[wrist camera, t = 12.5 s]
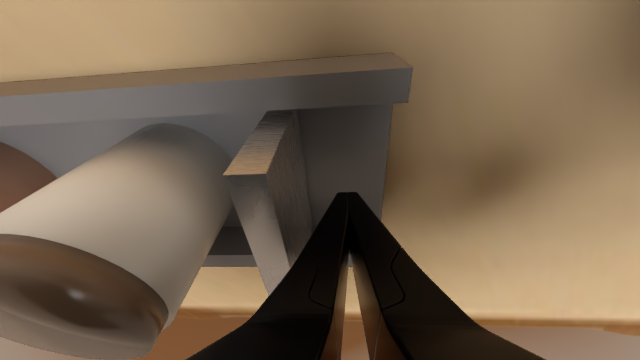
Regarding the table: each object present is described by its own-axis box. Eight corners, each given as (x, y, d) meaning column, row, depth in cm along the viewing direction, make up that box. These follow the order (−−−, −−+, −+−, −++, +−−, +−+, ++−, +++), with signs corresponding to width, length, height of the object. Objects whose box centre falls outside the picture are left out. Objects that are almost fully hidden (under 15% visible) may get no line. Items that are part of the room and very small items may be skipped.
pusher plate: (296, 102, 9) (265, 173, 5) (312, 224, 13) (302, 318, 9) (271, 104, 9) (222, 175, 5) (294, 224, 13) (277, 317, 9)
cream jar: (220, 119, 10) (71, 259, 4) (251, 213, 13) (189, 365, 8) (103, 126, 11) (-169, 260, 5) (160, 215, 14) (37, 358, 8)
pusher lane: (392, 52, 9) (423, 75, 6) (376, 224, 15) (388, 284, 11) (-121, 92, 11) (-307, 124, 8) (34, 229, 17) (-39, 281, 13)
